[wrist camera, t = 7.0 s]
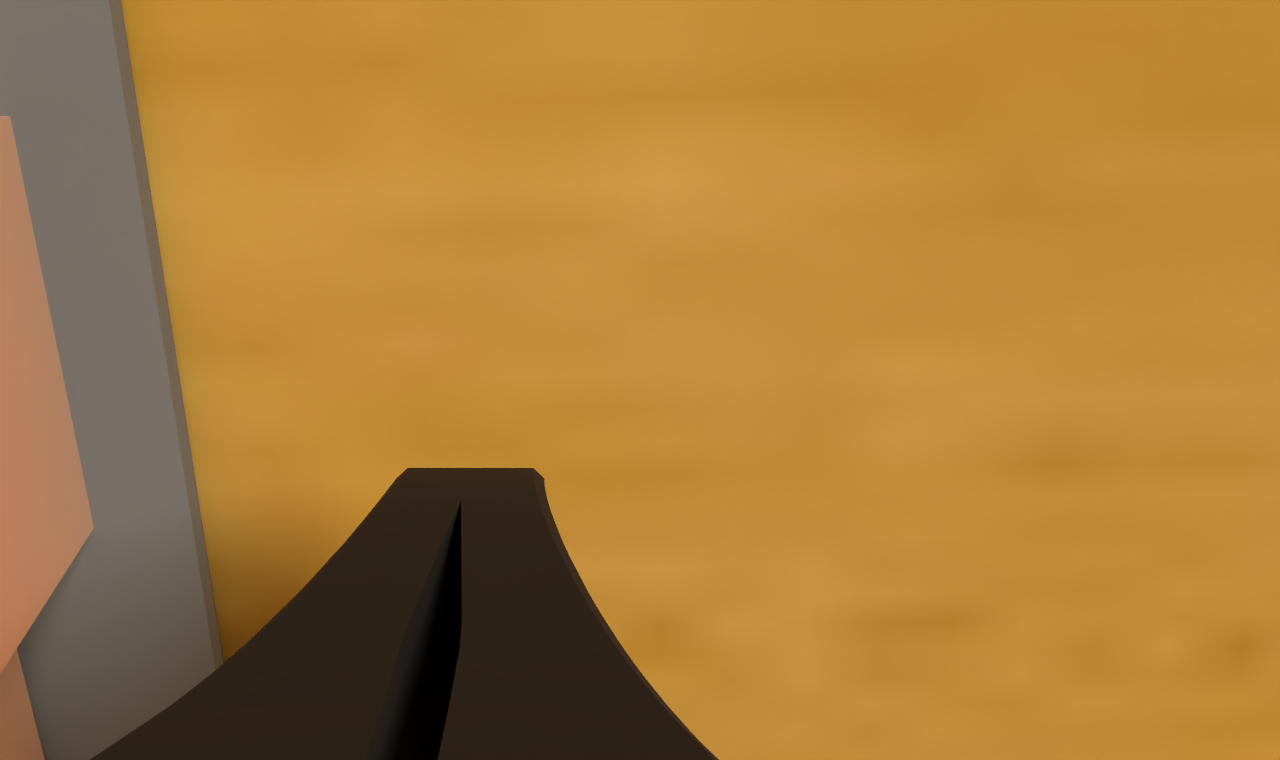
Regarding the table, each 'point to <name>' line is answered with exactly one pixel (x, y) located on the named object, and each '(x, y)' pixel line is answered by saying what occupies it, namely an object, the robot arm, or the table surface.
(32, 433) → the tile
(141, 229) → the mat
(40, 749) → the tile
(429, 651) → the robot arm
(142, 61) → the table surface
